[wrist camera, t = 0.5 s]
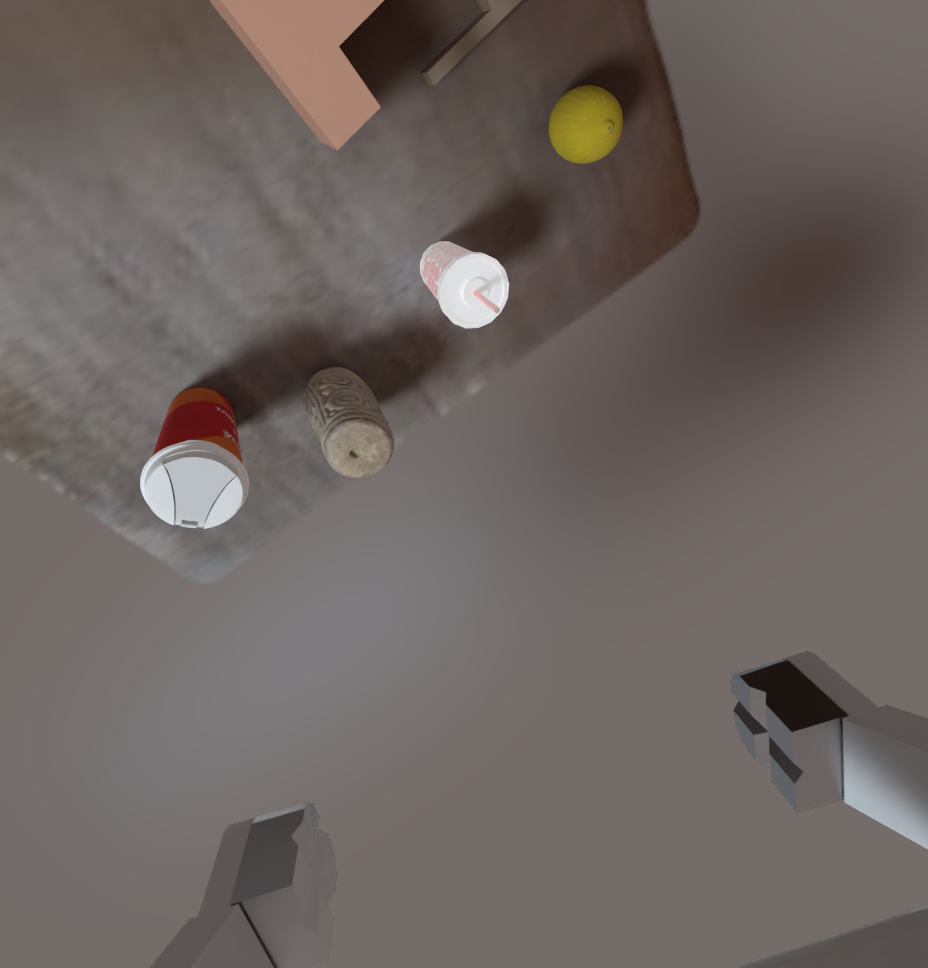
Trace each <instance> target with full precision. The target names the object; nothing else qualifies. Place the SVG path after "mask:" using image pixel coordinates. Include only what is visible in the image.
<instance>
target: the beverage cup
mask: <svg viewBox="0 0 928 968" xmlns="http://www.w3.org/2000/svg"><path fill="white" fill-rule="evenodd" d="M420 273H421V276H422V279H423V281H424V282H425V284H426V285H427V286H428V288H429V289H430V290H431V292H432V293H433V294H434V296H435V297H436V298H437V300H438V301H439V303H440V306H441V309H442V311H443V312H444V314H445V315H446V316H447V317H448V318H449V319H450V320H451V321H452V322H453V323H454V324H456V325H459V326H461V327H464V328H479V327H481V326H483V325H486V324H488V323H490V322H492V321H493V320H494V319H495V318H496V317H497V315H498V314H499V313H500V312H501V311H502V309H503V307H504V305H505V303H506V301H507V298H508V289H509V282H508V279H507V275H506V271H505V269H504V268H503V267H502V266H501V264H500V263H499V262H498V261H497V260H496V259H494V258H492V257H490V256H488V255H486V254H484V253H482V252H472V251H469V250H467V249H465V248H463V247H460V246H458V245H456V244H454V243H451V242H449V241H439V242H437V243H435V244H433V245H431V246H430V247H429V248H428V249H427V250H426V251H425V252H424V254H423V256H422V259H421V261H420Z"/></svg>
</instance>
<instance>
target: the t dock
mask: <svg viewBox="0 0 928 968" xmlns="http://www.w3.org/2000/svg"><path fill="white" fill-rule="evenodd" d="M521 1H522V0H476V2H477V4H478V5H479V7H480V9H481V11H482V13H481V14H480V15H479V16H478V17H477V18H476V19H475V20H474V21H473V22H472V23H471V24H470V25H469V26H468V27H467V28H466V29H465V30H464V31H463V32H462V33H461V34H460V35H459V36H458V37H457V38H456V39H455V40H454V41H453V42H451V43H450V44H449V45H448V46H447V47H446V48H445V49H444V50H443V51H442V52H441V53H440V54H439V55H438V56H437V57H436V58H435V59H434V60H433V61H432V62H431V63H430V64H429V65H428V66H427V67H426V68H425V69H424V70H423V71H422V72H421V73H420V74H421V76H422V77H423V79H424V80H425V82H426V84H427V85H428V86H431V85H436V84H437V83H438V82H439V81H440V80H441V79H442V78H443V77H444V76H445V75H446V74H447V73H448V72H449V71H450V70H451V69H452V68H453V67H454V66H455V65H456V64H457V63H458V62H459V61H460V60H461V59H462V58H463V57H464V56H465V55H466V54H467V53H468V52H469V51H470V50H471V49H472V48H474V47H475V46H476V45H477V44H478V43H479V42H480V41H481V40H482V39H483V38H484V37H485V36H486V35H487V34H488V33H489V32H490V31H491V30H492V29H493V28H494V27H495V26H496V25H497V24H498V23H499V22H500V21H501V20H502V19H503V18H504V17H505V16H506V15H507V14H508V13H509V12H510V11H511V10H512V9H513V8H514V7H515V6H516V5H518V4H519V3H520V2H521Z"/></svg>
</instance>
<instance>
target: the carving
mask: <svg viewBox="0 0 928 968" xmlns="http://www.w3.org/2000/svg"><path fill="white" fill-rule="evenodd" d="M304 403H305V408H306V412H307V415H308V417H309V418H310V422H311V425H312V426H313V428H314V430H315V432H316V434H317V436H318V438H319V440H320V442H321V446H322V450H323V453H324V455H325V457H326V459H327V460H328V462H329V464H330V466H331V467H332V468H333V469H334V470H335V471H337V472H338V473H340V474H342V475H344V476H347V477H350V478H362V477H365V476H368V475H373V474H375V473H377V472H378V471H380V470H382V469H383V468H384V467H385V466H386V465H387V464H388V462H389V461H390V459H391V456H392V453H393V449H394V438H393V434H392V430H391V428H390V426H389V425H388V421H387V420H386V419H385V417H384V415H383V413H382V410H381V408H380V406H379V404H378V402H377V399H376V398H375V396H374V394H373V393H372V391H371V390H370V388H369V387H368V386H367V385H366V383H365V382H364V381H363V380H362V379H361V378H360V377H359V376H357V375H356V374H355V373H353V372H352V371H350V370H347V369H345V368H340V367H332V368H327V369H324V370H321V371H319V372H318V373H316V374H315V375H314V376H313V377H312V378H311V379H310V380H309V382H308V384H307V386H306V388H305V391H304Z"/></svg>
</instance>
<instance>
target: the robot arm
mask: <svg viewBox="0 0 928 968" xmlns="http://www.w3.org/2000/svg"><path fill="white" fill-rule="evenodd" d="M730 683H731V692H732V693H733V694H734V695H735V697H736V698H737V699H738V700H739V701H738V703H737V705H736V706H735V708H734V710H733V712H734V719H735V725H736V727H737V730H738V733H739V735H740V738H741V740H742V742H743V743H744V745H745V747H746V748H747V750H748V752H749V753H750V754H751V755H752V757H753V758H754V759H755V761H756V762H758V763H760V764H762V765H764V766H767V767H769V768H771V776H772V782H773V784H774V785H775V786H776V787H777V788H778V790H779V791H780V792H781V793H782V795H783V796H784V797H785V798H786V799H787V801H788V802H789V803H790V805H791V806H792V807H793V808H794V810H795V811H796V812H797V813H798V812H802V811H805V810H809V809H813V808H816V807H820V806H823V805H827V804H831V803H834V802H837V801H841V800H845V803H846V804H848V805H850V806H852V807H854V808H855V809H857V810H859V811H861V812H863V813H864V814H866V815H868V816H870V817H871V818H873V819H875V820H877V821H878V822H880V823H882V824H884V825H885V826H887V827H889V828H891V829H893V830H895V831H896V832H898V833H900V834H902V835H903V836H905V837H907V838H909V839H910V840H912V841H914V842H916V843H918V844H919V845H921V846H923V847H925V848H926V849H928V718H926V717H922V716H920V715H917V714H914V713H910V712H907V711H904V710H901V709H898V708H895V707H892V706H889V705H885V706H882V707H879V706H877V705H876V704H875V703H874V702H872V701H871V700H870V699H869V698H868V697H866V696H865V695H864V694H863V693H862V692H860V691H859V690H858V689H857V688H856V687H854V686H853V685H852V684H851V683H849V682H848V681H847V680H846V679H845V678H843V677H842V676H841V675H840V674H839V673H837V672H836V671H835V670H834V669H832V668H831V667H830V666H829V665H828V664H826V663H825V662H824V661H823V660H822V659H820V658H819V657H818V656H817V655H816V654H814V653H812V652H809V651H805V652H802V653H799V654H796V655H793V656H789V657H787V658H783V659H782V660H777V661H774V662H771V663H767V664H764V665H761V666H758V667H755V668H751V669H748V670H745V671H742V672H739V673H735V674H733V675H732V677H731V680H730ZM318 824H319V814H318V812H317V810H316V808H315V806H314V805H313V803H305V804H301V805H297V806H294V807H290V808H287V809H283V810H279V811H276V812H272V813H268V814H264V815H261V816H257V817H256V818H252V819H249V820H245V821H241V822H237V823H234V824H230V825H229V826H228V827H227V829H226V830H225V831H224V833H223V835H222V839H221V842H220V845H219V848H218V852H217V855H216V859H215V861H214V865H213V868H212V871H211V874H210V878H209V881H208V884H207V887H206V891H205V894H204V897H203V900H202V904H201V907H200V910H199V913H198V916H197V917H194V918H191V919H189V920H188V921H187V922H186V923H185V925H184V926H183V927H182V928H181V930H180V931H179V932H178V933H177V935H176V936H175V937H174V938H173V939H172V941H171V942H170V943H169V945H168V946H167V947H166V948H165V950H164V951H163V952H162V953H161V954H160V956H159V957H158V958H157V959H156V960H155V962H154V963H153V964H152V965H151V967H150V968H305V967H308V966H311V965H314V964H316V963H319V962H322V961H325V960H328V959H330V948H331V937H332V926H333V916H332V914H331V912H330V909H329V907H328V905H327V904H328V902H329V901H330V899H331V898H332V896H333V895H334V893H335V891H336V877H337V873H336V861H335V854H334V850H333V846H332V843H331V841H330V838H329V836H328V834H327V833H325V832H323V831H322V830H320V829H318ZM735 968H928V905H927V906H924V907H921V908H918V909H914V910H911V911H908V912H905V913H902V914H899V915H896V916H893V917H890V918H886V919H884V920H880V921H877V922H874V923H871V924H868V925H865V926H862V927H859V928H855V929H853V930H849V931H846V932H843V933H840V934H837V935H834V936H831V937H828V938H824V939H821V940H818V941H815V942H812V943H809V944H806V945H803V946H800V947H797V948H794V949H791V950H787V951H784V952H782V953H778V954H775V955H772V956H769V957H766V958H763V959H760V960H757V961H754V962H751V963H747V964H744V965H741V966H738V967H735Z"/></svg>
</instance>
